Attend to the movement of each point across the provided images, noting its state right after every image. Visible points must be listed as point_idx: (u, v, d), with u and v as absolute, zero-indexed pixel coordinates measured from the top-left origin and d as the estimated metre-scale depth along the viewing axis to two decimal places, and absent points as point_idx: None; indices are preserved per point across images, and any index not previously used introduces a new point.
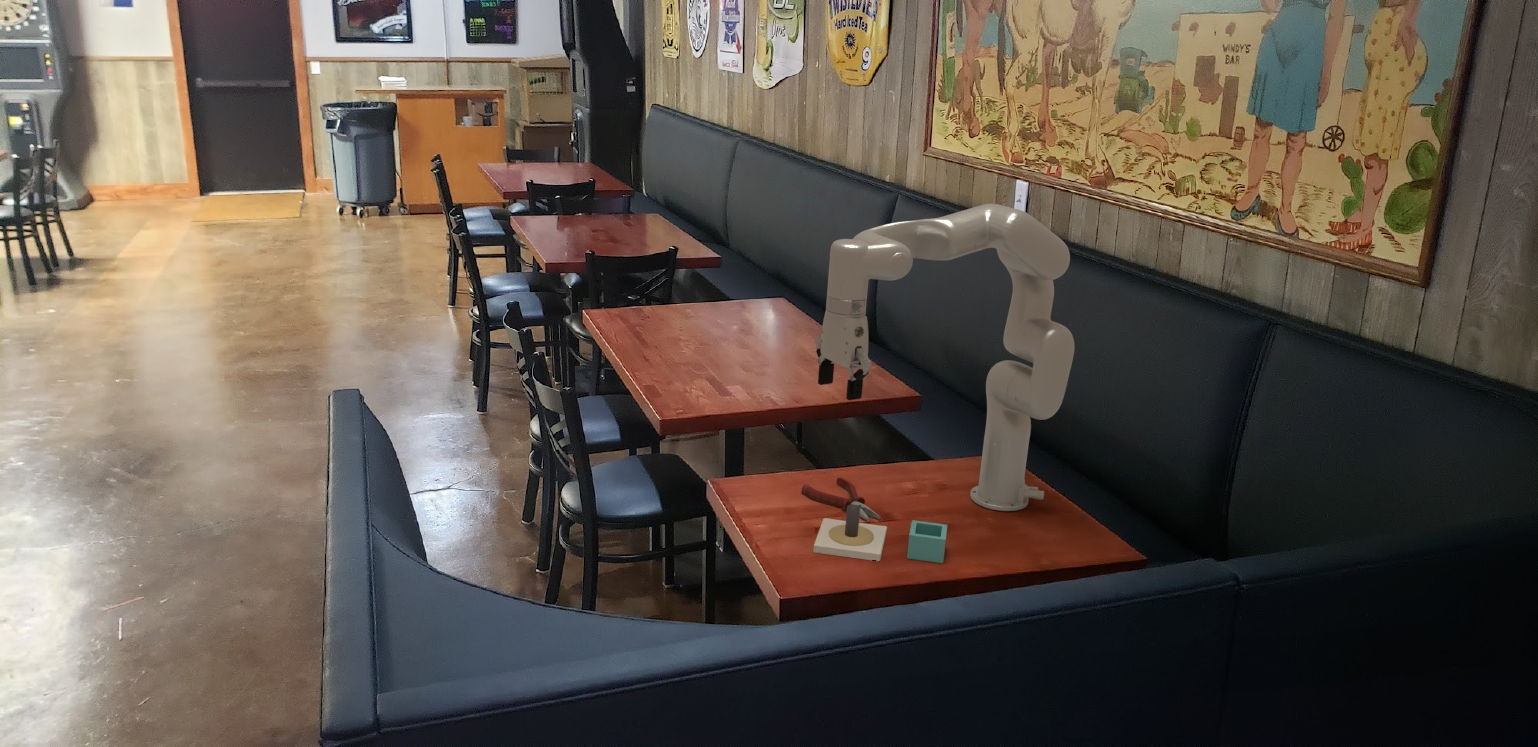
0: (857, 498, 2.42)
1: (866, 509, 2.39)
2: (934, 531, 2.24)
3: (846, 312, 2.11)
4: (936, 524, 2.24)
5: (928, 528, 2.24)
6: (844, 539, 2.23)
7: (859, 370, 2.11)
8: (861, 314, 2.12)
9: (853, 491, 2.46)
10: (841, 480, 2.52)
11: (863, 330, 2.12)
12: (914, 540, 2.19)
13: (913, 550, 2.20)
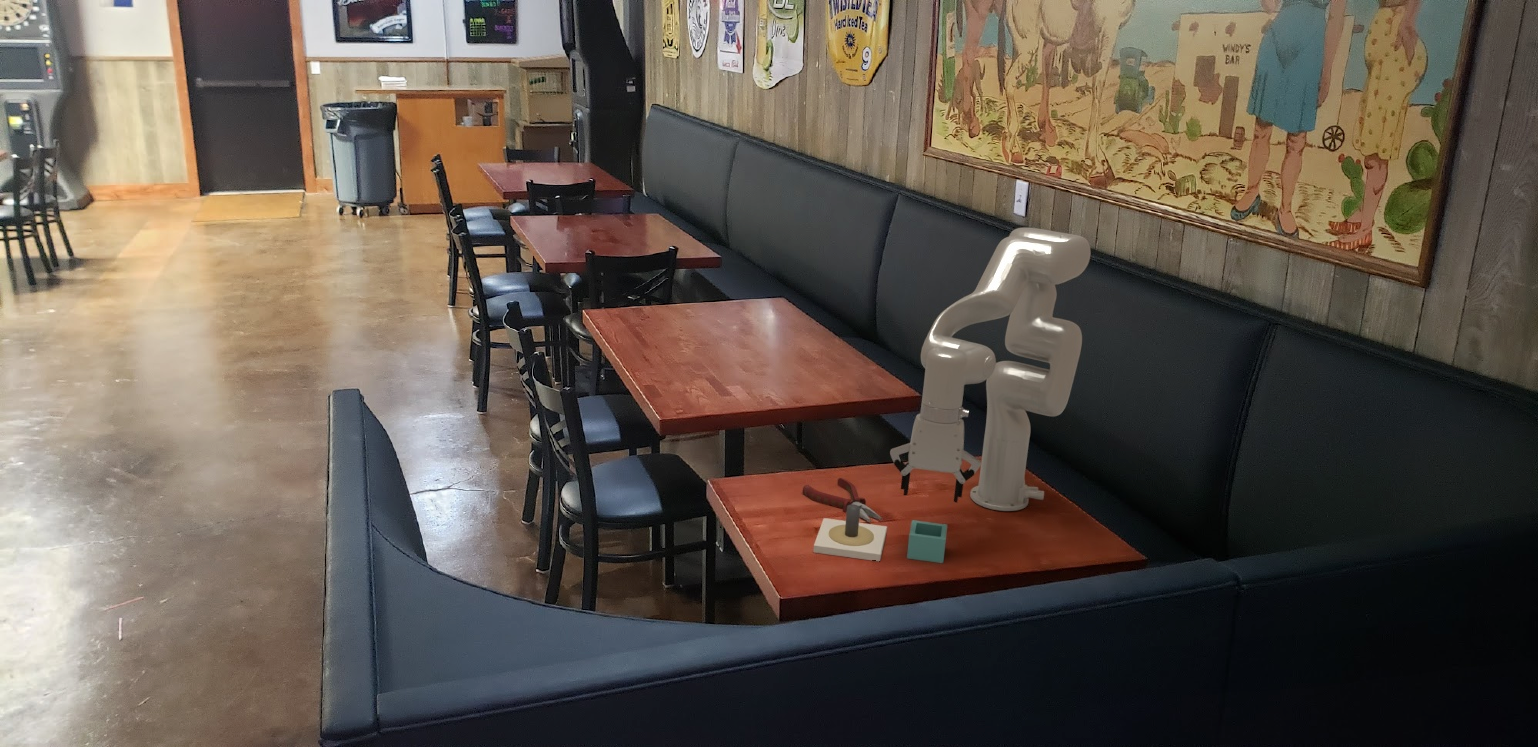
0: (858, 499, 2.42)
1: (867, 510, 2.38)
2: (934, 531, 2.24)
3: (956, 420, 2.12)
4: (936, 524, 2.24)
5: (928, 528, 2.24)
6: (844, 539, 2.23)
7: (971, 471, 2.15)
8: None
9: (854, 492, 2.45)
10: (842, 481, 2.52)
11: (963, 432, 2.16)
12: (914, 540, 2.19)
13: (913, 550, 2.20)
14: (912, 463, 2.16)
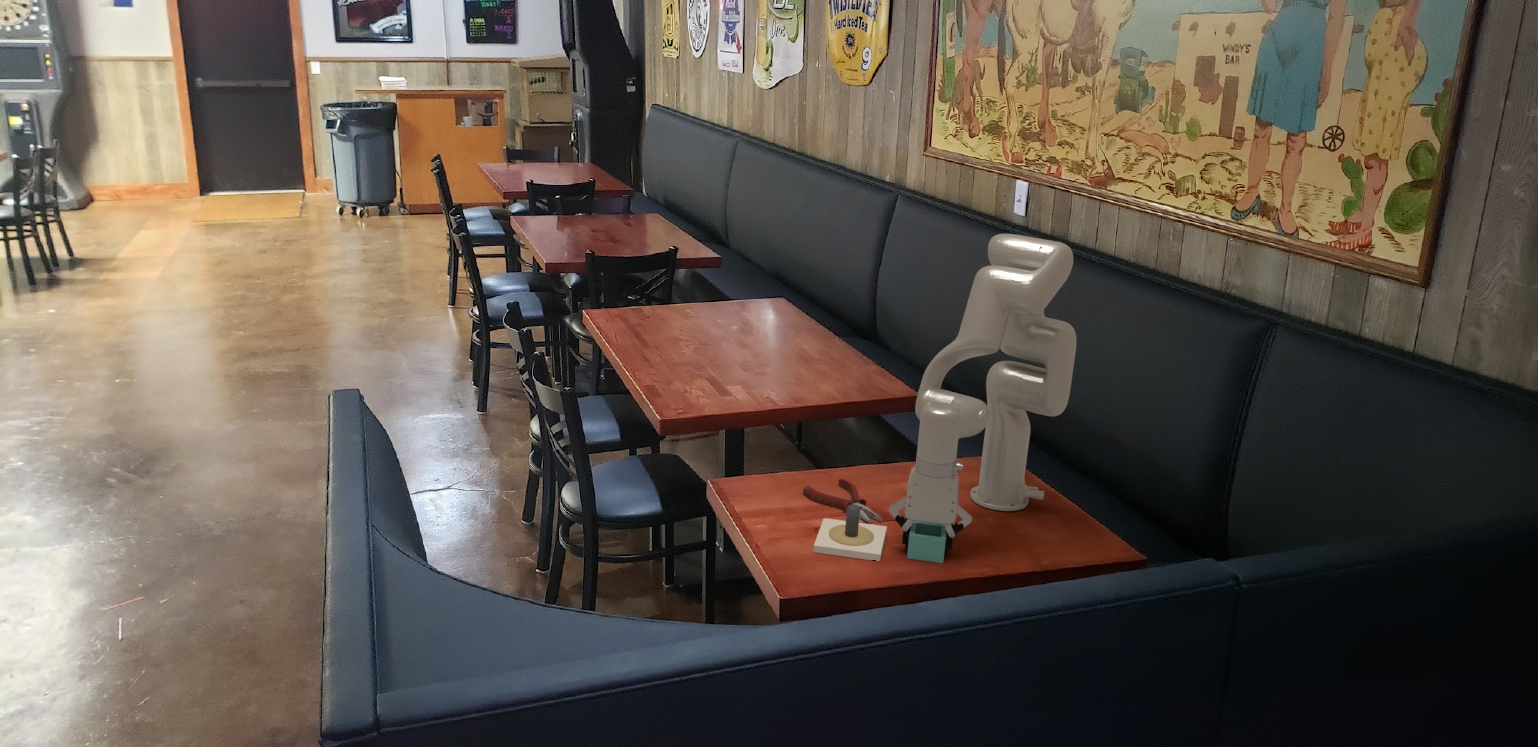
0: (858, 499, 2.41)
1: (867, 511, 2.38)
2: (934, 531, 2.24)
3: (951, 474, 2.15)
4: (936, 524, 2.24)
5: (928, 528, 2.24)
6: (844, 539, 2.23)
7: (960, 525, 2.19)
8: None
9: (854, 492, 2.45)
10: (843, 481, 2.51)
11: (957, 484, 2.19)
12: (914, 540, 2.19)
13: (913, 550, 2.20)
14: (908, 515, 2.20)
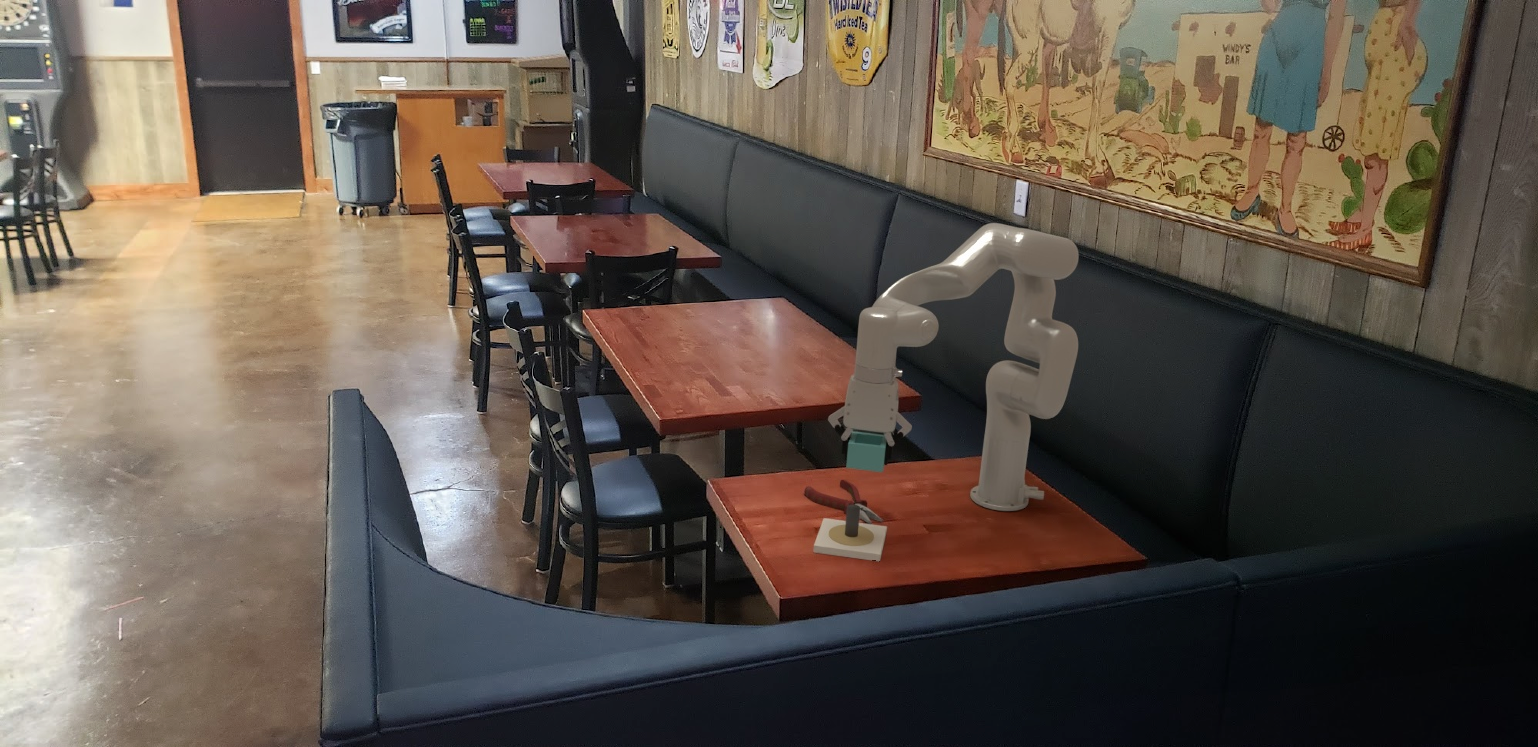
0: (859, 501, 2.41)
1: (868, 512, 2.37)
2: (874, 442, 2.21)
3: (889, 379, 2.12)
4: (877, 435, 2.21)
5: (868, 438, 2.21)
6: (844, 539, 2.23)
7: (900, 434, 2.16)
8: None
9: (856, 493, 2.44)
10: (844, 482, 2.51)
11: (897, 392, 2.16)
12: (853, 449, 2.16)
13: (852, 459, 2.17)
14: (847, 424, 2.16)
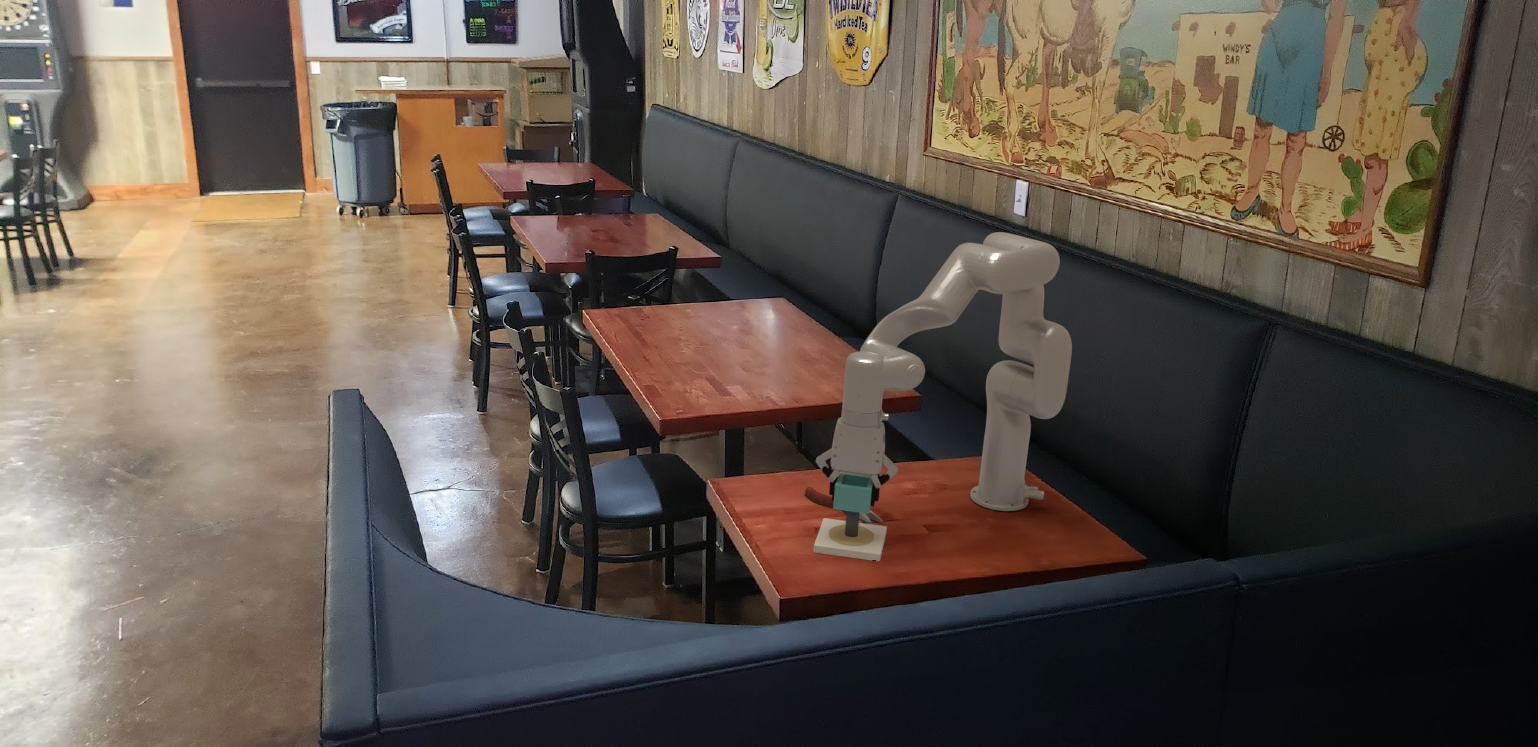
0: None
1: (869, 512, 2.37)
2: (861, 483, 2.24)
3: (875, 423, 2.15)
4: (864, 476, 2.24)
5: (855, 479, 2.24)
6: (844, 539, 2.23)
7: (886, 476, 2.19)
8: None
9: None
10: None
11: (883, 435, 2.19)
12: (840, 490, 2.19)
13: (839, 501, 2.20)
14: (834, 466, 2.20)
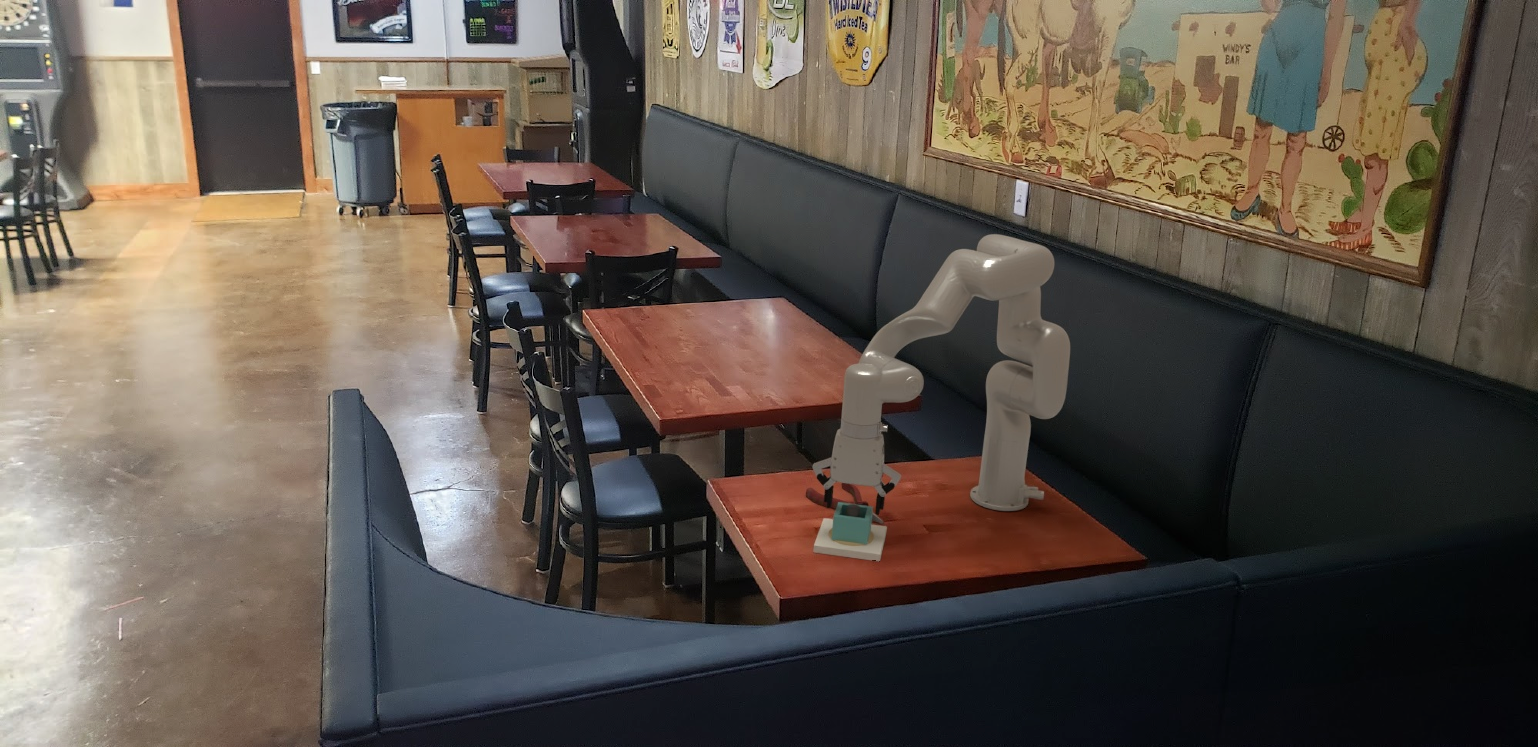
0: (861, 502, 2.40)
1: None
2: (860, 513, 2.26)
3: (875, 435, 2.16)
4: (862, 506, 2.26)
5: None
6: None
7: (891, 485, 2.20)
8: None
9: (857, 495, 2.44)
10: (846, 484, 2.50)
11: (882, 446, 2.20)
12: (838, 521, 2.21)
13: (837, 531, 2.22)
14: (833, 477, 2.20)
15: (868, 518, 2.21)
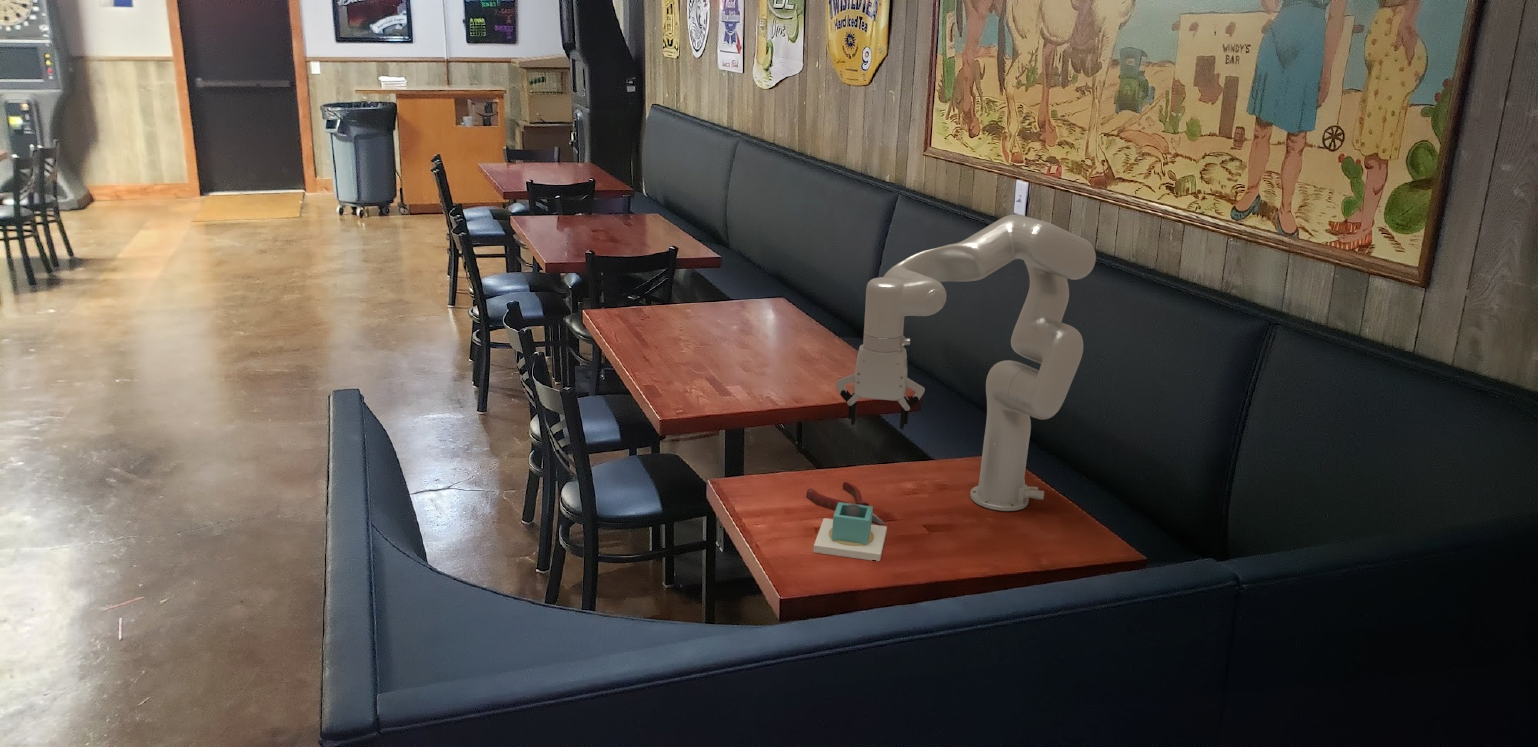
0: (861, 503, 2.40)
1: None
2: (860, 513, 2.26)
3: (898, 348, 2.16)
4: (862, 506, 2.26)
5: None
6: None
7: (915, 398, 2.20)
8: None
9: (858, 496, 2.43)
10: (847, 485, 2.50)
11: (905, 360, 2.20)
12: (838, 521, 2.21)
13: (837, 531, 2.22)
14: (857, 393, 2.21)
15: (868, 518, 2.21)
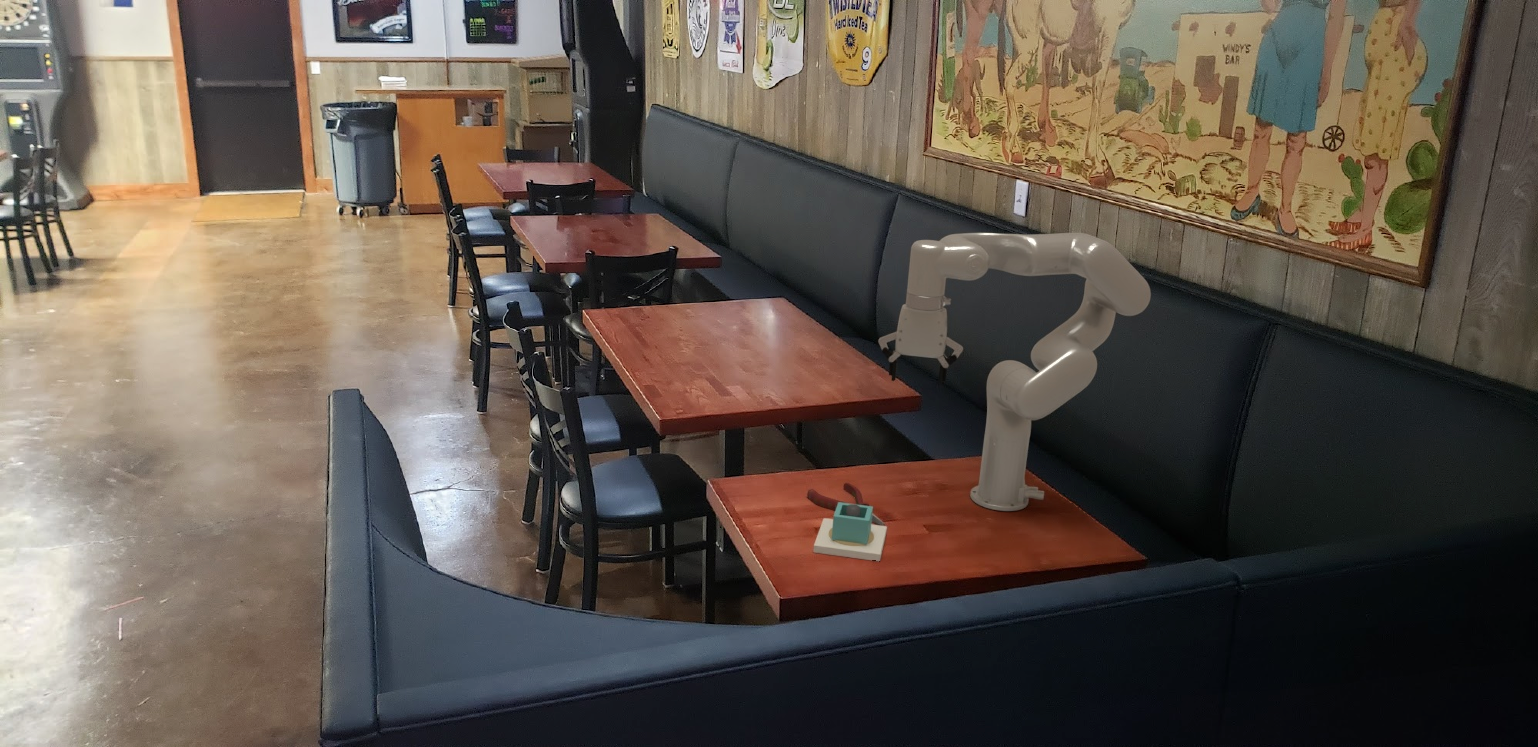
0: (862, 504, 2.39)
1: None
2: (860, 513, 2.26)
3: (939, 307, 2.28)
4: (862, 506, 2.26)
5: None
6: None
7: (954, 356, 2.31)
8: None
9: (859, 497, 2.43)
10: (848, 486, 2.49)
11: (945, 320, 2.32)
12: (838, 521, 2.21)
13: (837, 531, 2.22)
14: (899, 350, 2.32)
15: (868, 518, 2.21)
